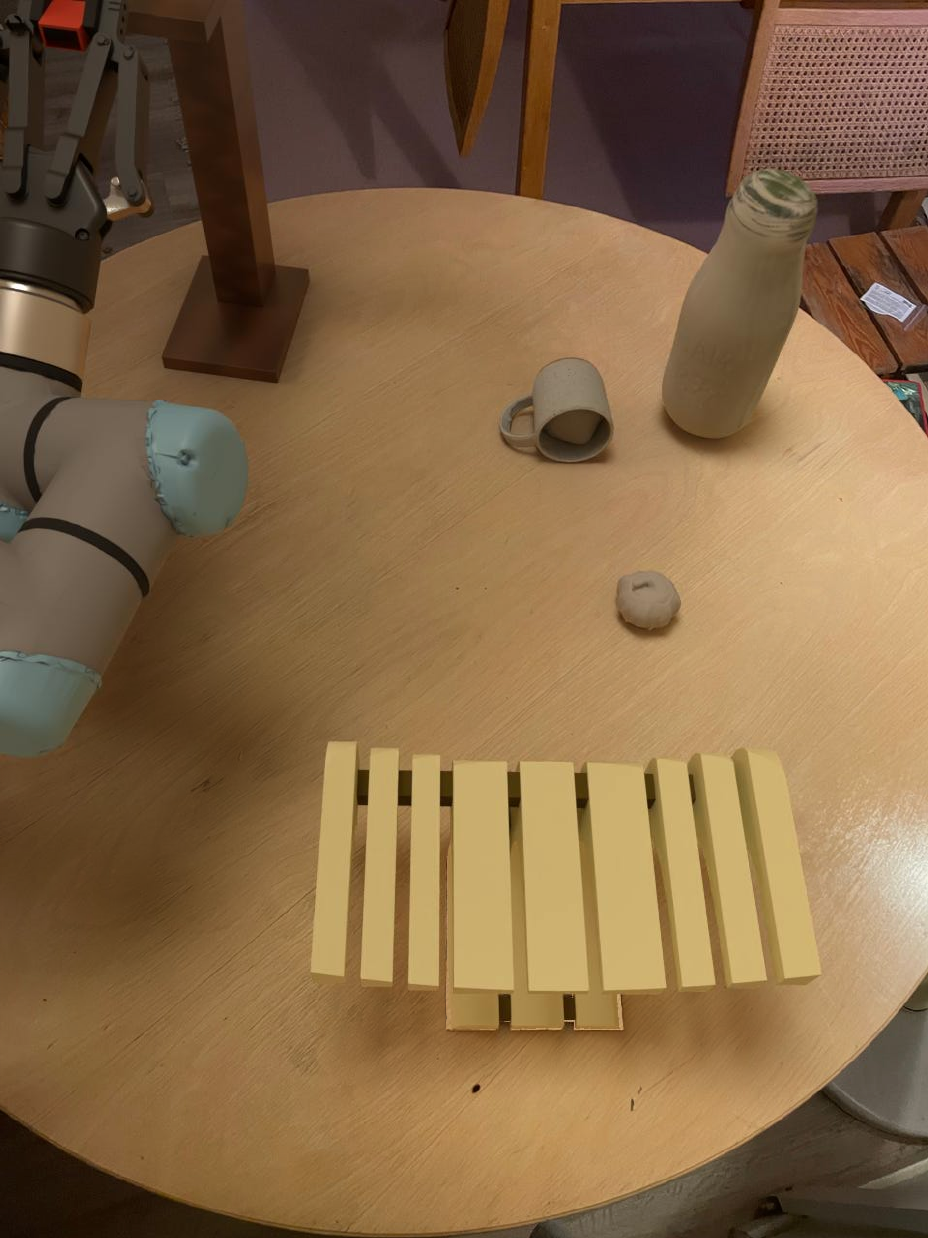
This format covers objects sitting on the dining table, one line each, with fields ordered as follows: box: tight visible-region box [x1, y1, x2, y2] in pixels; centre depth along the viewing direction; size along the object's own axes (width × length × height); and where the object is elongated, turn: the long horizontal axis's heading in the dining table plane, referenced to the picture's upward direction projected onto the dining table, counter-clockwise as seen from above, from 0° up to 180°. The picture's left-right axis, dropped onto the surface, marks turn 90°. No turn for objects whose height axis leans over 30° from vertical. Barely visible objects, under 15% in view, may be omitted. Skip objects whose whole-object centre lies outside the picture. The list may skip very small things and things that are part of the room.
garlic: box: [616, 570, 682, 631], centre depth 93 cm, size 6×5×5 cm
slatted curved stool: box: [310, 740, 823, 1030], centre depth 72 cm, size 30×16×18 cm, turn 90°
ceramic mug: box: [499, 356, 615, 463], centre depth 103 cm, size 11×8×8 cm
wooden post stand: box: [126, 0, 311, 384], centre depth 95 cm, size 12×18×38 cm, turn 172°
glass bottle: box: [661, 167, 819, 439], centre depth 96 cm, size 10×10×28 cm
